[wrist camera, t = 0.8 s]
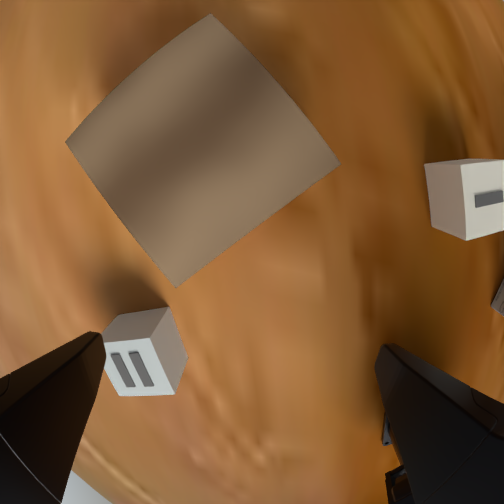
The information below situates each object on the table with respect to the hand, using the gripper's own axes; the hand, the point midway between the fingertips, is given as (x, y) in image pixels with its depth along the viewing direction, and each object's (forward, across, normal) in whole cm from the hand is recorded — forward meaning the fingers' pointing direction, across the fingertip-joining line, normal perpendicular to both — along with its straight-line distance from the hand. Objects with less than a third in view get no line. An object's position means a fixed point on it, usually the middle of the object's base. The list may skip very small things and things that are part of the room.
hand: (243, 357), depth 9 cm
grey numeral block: (+14, +6, +9) cm, 18 cm away
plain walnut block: (+14, +2, -6) cm, 15 cm away
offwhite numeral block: (+13, -17, -5) cm, 22 cm away
